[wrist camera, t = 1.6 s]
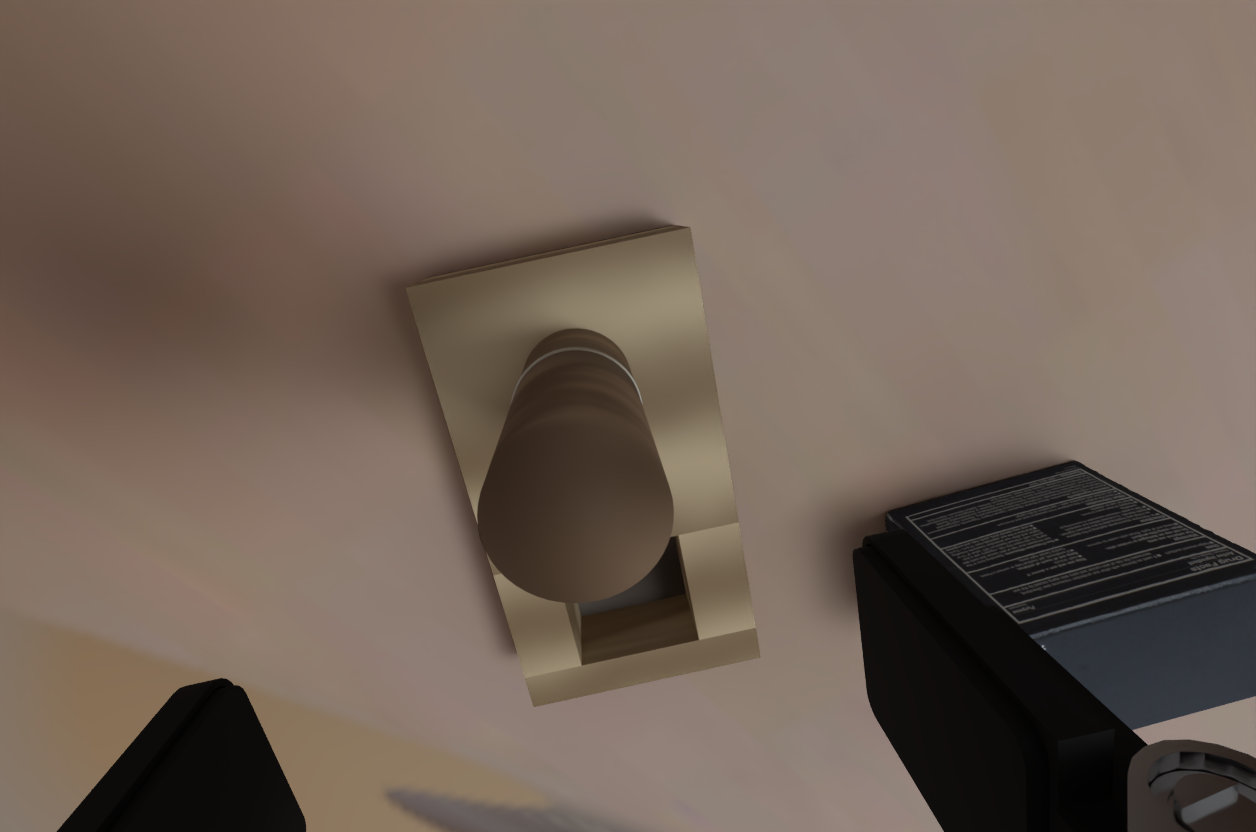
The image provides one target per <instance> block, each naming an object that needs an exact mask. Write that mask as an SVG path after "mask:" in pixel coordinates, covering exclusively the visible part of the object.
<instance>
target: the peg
mask: <svg viewBox="0 0 1256 832" xmlns="http://www.w3.org/2000/svg"><path fill="white" fill-rule="evenodd" d="M477 521H478V530H479V534H480V538H481V541H482V544H483V546H484V549H485V551H486V553H487V555H488V556H489V558H490V560H491V561H492V563H493V564H494V565H495V567H496V568H497V569H498V570H499V571H500V572H501V573H502V575H503V576H504V577H505V578H507V579H508V580H509V581H510V582H512V583H513V584H514V585H516V586H517V587H519V588H521V589H522V590H524V591H526V592H528V593H530V594H532V595H535V596H537V597H540V598H543V599H546V600H550V601H556V602H562V603H587V602H593V601H598V600H602V599H606V598H609V597H612V596H614V595H617V594H619V593H621V592H623V591H625V590H627V589H629V588H630V587H632V586H633V585H635V584H636V583H638V582H639V581H640V580H642V579H643V578H644V577H645V576H646V575H647V574H648V573H649V572H650V571H651V570H652V569H653V567H654V566H655V565H656V564H657V563H658V561H659V560H660V558H661V556H662V555H663V553H664V551H665V549H666V547H667V545H668V543H669V539H670V536H671V533H672V528H673V522H674V506H673V498H672V494H671V490H670V487H669V484H668V481H667V478H666V475H665V472H664V469H663V466H662V462H661V459H660V456H659V453H658V450H657V447H656V444H655V441H654V438H653V435H652V432H651V429H650V426H649V423H648V420H647V417H646V414H645V411H644V408H643V405H642V399H641V395H640V392H639V389H638V387H637V384H636V382H635V380H634V378H633V375H632V372H631V369H630V366H629V364H628V361H627V359H626V357H625V355H624V354H623V352H622V351H621V350H620V348H619V347H618V346H617V345H616V344H615V343H614V342H613V341H612V340H610V339H609V338H607V337H606V336H604V335H602V334H600V333H598V332H595V331H592V330H588V329H580V328H575V329H566V330H562V331H558V332H556V333H553V334H551V335H549V336H548V337H546V338H544V339H543V340H542V341H541V342H539V343H538V344H537V345H536V346H535V348H534V349H533V350H532V352H531V353H530V354H529V356H528V358H527V360H526V363H525V365H524V368H523V371H522V374H521V377H520V379H519V381H518V383H517V384H516V387H515V390H514V392H513V396H512V400H511V406H510V409H509V411H508V414H507V417H506V420H505V423H504V426H503V429H502V432H501V434H500V437H499V440H498V443H497V446H496V449H495V452H494V455H493V458H492V460H491V463H490V466H489V469H488V472H487V475H486V478H485V481H484V483H483V486H482V489H481V492H480V497H479V501H478V509H477Z"/></svg>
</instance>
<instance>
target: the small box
mask: <svg viewBox="0 0 1256 832" xmlns="http://www.w3.org/2000/svg"><path fill="white" fill-rule="evenodd" d="M885 521H886V527H887V531H888V532H889V531H893V530H898V529H904V530H905V531H907V532H908V533H909V534H910V535H911V536H912V537H913V538H914V539H915V540H916V541H917V542H919V543H920V544H921V545H922V546H923V547H924V548H925V549H926V550H927V551H928V552H929V553H930V554H931V555H932V556H933V557H934V558H935V559H936V560H938V561H939V562H940V563H941V564H942V565H943V566H944V567H945V568H946V569H947V570H948V571H949V572H950V573H951V574H952V575H953V576H954V577H955V578H957V579H958V580H959V581H960V582H961V583H962V584H963V585H964V586H965V587H966V588H967V589H968V590H969V591H970V592H971V593H972V594H973V595H974V596H975V597H977V598H978V599H979V600H980V601H981V602H982V603H983V604H991V605H995V606H996V607H997V608H999V609H1000V610H1002V611H1003V612H1004V613H1005V614H1006V615H1007V616H1008V617H1010V618H1011V619H1012V620H1013V621H1014V622H1015V623H1016V624H1017V625H1018V626H1019V627H1020V628H1021V629H1023V630H1024V631H1025V632H1026V633H1027V634H1028V635H1029V636H1030V637H1031V638H1032V639H1033V640H1034V641H1036V642H1037V643H1038V644H1039V645H1040V646H1041V647H1042V648H1043V649H1044V650H1045V651H1046V652H1048V653H1049V654H1050V655H1051V656H1052V657H1053V658H1054V659H1055V660H1056V661H1057V662H1058V663H1059V664H1061V665H1062V666H1063V667H1064V668H1065V669H1066V670H1067V671H1068V672H1069V673H1070V674H1071V675H1072V676H1074V677H1075V678H1076V679H1077V680H1078V681H1079V682H1080V683H1081V684H1082V685H1083V686H1084V687H1085V688H1087V689H1088V690H1089V691H1090V692H1091V693H1092V694H1093V695H1094V696H1095V697H1096V698H1097V699H1098V700H1100V701H1101V702H1102V703H1103V704H1104V705H1105V706H1106V707H1107V708H1108V709H1109V710H1110V711H1112V712H1113V713H1114V714H1115V715H1116V716H1117V717H1118V718H1119V719H1120V720H1121V721H1122V722H1123V723H1125V724H1126V725H1127V726H1128V727H1129V728H1130V729H1131V730H1134V729H1137V728H1141V727H1145V726H1148V725H1152V724H1155V723H1159V722H1163V721H1166V720H1170V719H1174V718H1177V717H1181V716H1185V715H1188V714H1192V713H1195V712H1199V711H1203V710H1207V709H1210V708H1214V707H1217V706H1221V705H1225V704H1228V703H1232V702H1236V701H1239V700H1243V699H1247V698H1250V697H1254V696H1256V554H1255V553H1253V552H1251V551H1249V550H1247V549H1245V548H1243V547H1241V546H1239V545H1237V544H1234V543H1232V542H1230V541H1228V540H1226V539H1224V538H1222V537H1220V536H1218V535H1216V534H1214V533H1213V532H1211V531H1209V530H1206V529H1203V528H1202V527H1200V526H1199V525H1197V524H1195V523H1193V522H1191V521H1189V520H1188V519H1186V518H1184V517H1182V516H1180V515H1178V514H1176V513H1174V512H1172V511H1170V510H1168V509H1166V508H1164V507H1162V506H1160V505H1159V504H1156V503H1154V502H1152V501H1150V500H1148V499H1147V498H1145V497H1143V496H1141V495H1139V494H1137V493H1135V492H1133V491H1131V490H1129V489H1127V488H1126V487H1124V486H1122V485H1120V484H1118V483H1116V482H1114V481H1112V480H1110V479H1108V478H1106V477H1105V476H1103V475H1101V474H1099V473H1098V472H1096V471H1094V470H1092V469H1090V468H1088V467H1086V466H1085V465H1083V464H1082V463H1080V462H1078V461H1074V462H1070V463H1067V464H1063V465H1059V466H1055V467H1051V468H1048V469H1044V470H1041V471H1037V472H1033V473H1029V474H1026V475H1022V476H1018V477H1015V478H1011V479H1008V480H1004V481H1000V482H996V483H993V484H989V485H986V486H982V487H979V488H974V489H971V490H967V491H964V492H960V493H956V494H953V495H949V496H945V497H942V498H938V499H935V500H930V501H927V502H923V503H920V504H917V505H912V506H909V507H905V508H902V509H898V510H895V511H891V512H888V514H887V516H886V520H885Z"/></svg>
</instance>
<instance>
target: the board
mask: <svg viewBox="0 0 1256 832" xmlns="http://www.w3.org/2000/svg"><path fill="white" fill-rule="evenodd" d="M405 290H406V293H407V296H408V299H409V303H410V306H411V309H412V312H413V316H414V319H415V322H416V325H417V329H418V332H419V335H420V338H421V342H422V345H423V348H424V351H425V355H426V358H427V361H428V364H429V368H430V371H431V374H432V377H433V381H434V384H435V387H436V391H437V394H438V397H439V400H440V404H441V407H442V410H443V413H444V417H445V420H446V423H447V426H448V430H449V433H450V436H451V439H452V443H453V446H454V449H455V452H456V456H457V459H458V462H459V465H460V469H461V472H462V475H463V478H464V482H465V485H466V488H467V491H468V495H469V498H470V501H471V504H472V508H473V511H474V514H475V517H476V521H477V509H478V501H479V497H480V492H481V489H482V486H483V483H484V481H485V478H486V475H487V472H488V469H489V466H490V463H491V460H492V458H493V455H494V452H495V449H496V446H497V443H498V440H499V437H500V434H501V432H502V429H503V426H504V423H505V420H506V417H507V414H508V411H509V409H510V406H511V400H512V396H513V392H514V390H515V387H516V384H517V383H518V381H519V379H520V377H521V374H522V371H523V368H524V365H525V363H526V360H527V358H528V356H529V354H530V353H531V352H532V350H533V349H534V348H535V346H536V345H537V344H538V343H539V342H541V341H542V340H543V339H544V338H546V337H548V336H549V335H551V334H553V333H556V332H558V331H562V330H566V329H575V328H580V329H588V330H592V331H595V332H598V333H600V334H602V335H604V336H606V337H607V338H609V339H610V340H612V341H613V342H614V343H615V344H616V345H617V346H618V347H619V348H620V350H621V351H622V352H623V354H624V355H625V357H626V359H627V361H628V364H629V366H630V369H631V372H632V375H633V378H634V380H635V382H636V384H637V387H638V389H639V392H640V395H641V399H642V405H643V408H644V411H645V414H646V417H647V420H648V423H649V426H650V429H651V432H652V435H653V438H654V441H655V444H656V447H657V450H658V453H659V456H660V459H661V462H662V466H663V469H664V472H665V475H666V478H667V481H668V484H669V487H670V490H671V494H672V498H673V506H674V522H673V528H672V533H671V536H670V539H669V543H668V545H667V547H666V549H665V551H664V553H663V555H662V556H661V558H660V560H659V561H658V563H657V564H656V565H655V566H654V567H653V569H652V570H651V571H650V572H649V573H648V574H647V575H646V576H645V577H644V578H643V579H642V580H640V581H639V582H638V583H636V584H635V585H633V586H632V587H630V588H629V589H627V590H625V591H623V592H621V593H619V594H617V595H614V596H612V597H609V598H606V599H602V600H598V601H593V602H587V603H562V602H556V601H550V600H546V599H543V598H540V597H537V596H535V595H532V594H530V593H528V592H526V591H524V590H522V589H521V588H519V587H517V586H516V585H514V584H513V583H512V582H510V581H509V580H508V579H507V578H505V577H504V576H503V575H502V573H501V572H500V571H499V570H498V569H497V568H496V567H495V565H494V564H493V563H492V561H491V560H490V558H489V556H488V555H487V556H488V560H489V563H490V566H491V569H492V573H493V576H494V579H495V582H496V586H497V589H498V592H499V596H500V599H501V602H502V605H503V609H504V612H505V615H506V618H507V622H508V625H509V628H510V631H511V635H512V638H513V641H514V644H515V648H516V651H517V654H518V657H519V661H520V664H521V667H522V670H523V674H524V677H525V680H526V683H527V687H528V690H529V693H530V696H531V700H532V703H533V706H534V707H536V706H541V705H545V704H550V703H554V702H559V701H563V700H568V699H573V698H577V697H582V696H586V695H591V694H595V693H600V692H605V691H609V690H614V689H618V688H623V687H627V686H632V685H637V684H641V683H646V682H650V681H655V680H659V679H664V678H669V677H673V676H678V675H682V674H687V673H691V672H696V671H701V670H705V669H710V668H714V667H719V666H723V665H728V664H733V663H737V662H742V661H746V660H751V659H755V658H760V651H759V645H758V639H757V632H756V626H755V620H754V614H753V608H752V602H751V596H750V590H749V583H748V577H747V571H746V565H745V559H744V553H743V547H742V541H741V535H740V528H739V522H738V516H737V510H736V504H735V498H734V492H733V486H732V479H731V473H730V467H729V461H728V455H727V449H726V443H725V437H724V431H723V424H722V418H721V412H720V406H719V400H718V394H717V388H716V382H715V375H714V369H713V363H712V357H711V351H710V345H709V339H708V333H707V327H706V320H705V314H704V308H703V302H702V296H701V290H700V284H699V278H698V272H697V265H696V259H695V253H694V247H693V241H692V235H691V229H690V227H685V226H678V225H673V226H669V227H664V228H659V229H654V230H650V231H645V232H640V233H636V234H631V235H626V236H622V237H617V238H612V239H607V240H603V241H598V242H593V243H589V244H584V245H579V246H574V247H570V248H565V249H560V250H556V251H551V252H546V253H541V254H537V255H532V256H527V257H523V258H518V259H513V260H509V261H504V262H499V263H494V264H490V265H485V266H480V267H476V268H471V269H466V270H461V271H457V272H452V273H447V274H443V275H438V276H433V277H428V278H426V279H424V280H422V281H419V282H417V283H415V284H413V285H410V286H408V287H406V288H405ZM477 524H478V521H477Z"/></svg>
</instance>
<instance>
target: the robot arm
mask: <svg viewBox="0 0 1256 832" xmlns="http://www.w3.org/2000/svg"><path fill="white" fill-rule="evenodd" d="M862 546H863V547H861V548H857V549H855V550H854V551H853V564H854V574H855V583H856V593H857V602H858V612H859V621H860V631H861V640H862V650H863V659H864V669H865V678H866V688H867V694H868V699H869V702H870V705H871V708H872V711H873V713H874V715H875V717H876V719H877V721H878V722H879V724H880V726H881V727H882V729H883V731H884V732H885V734H886V736H887V737H888V739H889V741H890V742H891V744H892V746H893V747H894V749H895V751H896V752H897V754H898V756H899V757H900V759H901V761H902V762H903V764H904V766H905V767H906V769H907V771H908V772H909V774H910V776H911V777H912V779H913V781H914V782H915V784H916V786H917V787H918V789H919V791H920V792H921V794H922V796H923V797H924V799H925V801H926V802H927V804H928V806H929V807H930V809H931V811H932V812H933V814H934V816H935V817H936V819H937V821H938V822H939V824H940V826H941V827H942V829H943V831H944V832H1256V758H1254V757H1252V756H1250V755H1248V754H1245V753H1242V752H1239V751H1236V750H1233V749H1230V748H1227V747H1224V746H1221V745H1218V744H1213V743H1207V742H1201V741H1195V740H1163V741H1160V742H1157V743H1154V744H1151V745H1147V744H1146V743H1145V742H1144V741H1143V740H1142V739H1141V738H1140V737H1139V736H1138V735H1136V734H1135V733H1134V732H1133V731H1132V730H1131V729H1130V728H1129V727H1128V726H1127V725H1126V724H1125V723H1123V722H1122V721H1121V720H1120V719H1119V718H1118V717H1117V716H1116V715H1115V714H1114V713H1113V712H1112V711H1110V710H1109V709H1108V708H1107V707H1106V706H1105V705H1104V704H1103V703H1102V702H1101V701H1100V700H1098V699H1097V698H1096V697H1095V696H1094V695H1093V694H1092V693H1091V692H1090V691H1089V690H1088V689H1087V688H1085V687H1084V686H1083V685H1082V684H1081V683H1080V682H1079V681H1078V680H1077V679H1076V678H1075V677H1074V676H1072V675H1071V674H1070V673H1069V672H1068V671H1067V670H1066V669H1065V668H1064V667H1063V666H1062V665H1061V664H1059V663H1058V662H1057V661H1056V660H1055V659H1054V658H1053V657H1052V656H1051V655H1050V654H1049V653H1048V652H1046V651H1045V650H1044V649H1043V648H1042V647H1041V646H1040V645H1039V644H1038V643H1037V642H1036V641H1034V640H1033V639H1032V638H1031V637H1030V636H1029V635H1028V634H1027V633H1026V632H1025V631H1024V630H1023V629H1021V628H1020V627H1019V626H1018V625H1017V624H1016V623H1015V622H1014V621H1013V620H1012V619H1011V618H1010V617H1008V616H1007V615H1006V614H1005V613H1004V612H1003V611H1002V610H1000V609H999V608H997V607H996V606H995V605H991V604H983V603H982V602H981V601H980V600H979V599H978V598H977V597H975V596H974V595H973V594H972V593H971V592H970V591H969V590H968V589H967V588H966V587H965V586H964V585H963V584H962V583H961V582H960V581H959V580H958V579H957V578H955V577H954V576H953V575H952V574H951V573H950V572H949V571H948V570H947V569H946V568H945V567H944V566H943V565H942V564H941V563H940V562H939V561H938V560H936V559H935V558H934V557H933V556H932V555H931V554H930V553H929V552H928V551H927V550H926V549H925V548H924V547H923V546H922V545H921V544H920V543H919V542H917V541H916V540H915V539H914V538H913V537H912V536H911V535H910V534H909V533H908V532H907V531H905V530H904V529H898V530H893V531H889V532H884V533H879V534H875V535H870V536H866V537H865V538H864V539H863V544H862ZM57 832H306V822H305V818H304V816H303V814H302V811H301V809H300V808H299V805H298V803H297V801H296V799H295V796H294V794H293V792H292V790H291V788H290V786H289V784H288V781H287V779H286V777H285V775H284V773H283V771H282V769H281V767H280V764H279V762H278V760H277V758H276V756H275V754H274V752H273V750H272V748H271V745H270V743H269V741H268V739H267V737H266V735H265V733H264V731H263V728H262V726H261V724H260V722H259V720H258V718H257V716H256V713H255V711H254V709H253V707H252V705H251V703H250V701H249V698H248V696H247V694H246V692H245V691H244V689H243V688H241V687H240V686H236V685H233V684H232V682H230V681H229V680H227V679H223V678H220V679H215V680H211V681H206V682H202V683H197V684H193V685H188V686H185V687H182V688H179V689H178V690H177V691H176V692H175V693H174V694H173V695H172V696H171V697H170V698H169V700H168V701H167V702H166V703H165V705H164V706H163V707H162V708H161V709H160V710H159V712H158V713H157V714H156V715H155V716H154V717H153V718H152V720H151V721H150V722H149V723H148V725H147V726H146V727H145V728H144V729H143V730H142V731H141V733H140V734H139V735H138V736H137V737H136V739H135V740H134V741H133V742H132V743H131V745H130V746H129V747H128V748H127V749H126V750H125V752H124V753H123V754H122V755H121V756H120V758H119V759H118V760H117V761H116V762H115V763H114V765H113V766H112V767H111V768H110V769H109V771H108V772H107V773H106V774H105V775H104V776H103V778H102V779H101V780H100V781H99V782H98V784H97V785H96V786H95V787H94V788H93V789H92V791H91V792H90V793H89V794H88V795H87V797H86V798H85V799H84V800H83V801H82V802H81V804H80V805H79V806H78V807H77V808H76V810H75V811H74V812H73V813H72V814H71V815H70V817H69V818H68V819H67V820H66V821H65V822H64V824H63V825H62V826H61V827H60V829H59V830H58V831H57Z"/></svg>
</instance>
